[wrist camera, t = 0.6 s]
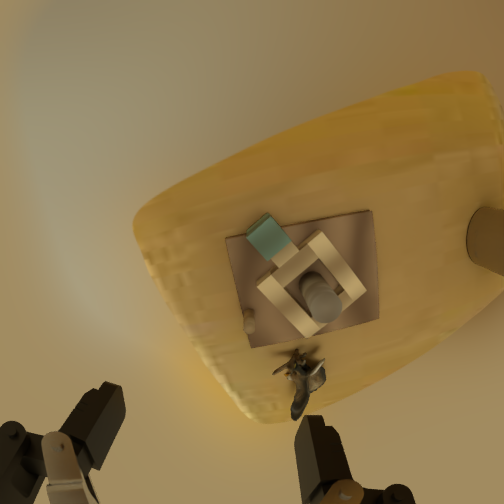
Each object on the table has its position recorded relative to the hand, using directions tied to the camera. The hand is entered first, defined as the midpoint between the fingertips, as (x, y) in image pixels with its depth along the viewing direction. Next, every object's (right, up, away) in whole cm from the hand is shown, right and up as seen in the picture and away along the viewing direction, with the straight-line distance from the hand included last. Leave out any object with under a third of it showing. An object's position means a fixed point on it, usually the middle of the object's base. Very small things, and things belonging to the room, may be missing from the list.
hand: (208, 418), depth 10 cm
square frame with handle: (+7, +5, +21) cm, 23 cm away
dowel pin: (+2, 0, +22) cm, 22 cm away
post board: (+9, +4, +22) cm, 24 cm away
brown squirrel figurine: (+8, -10, +26) cm, 29 cm away
